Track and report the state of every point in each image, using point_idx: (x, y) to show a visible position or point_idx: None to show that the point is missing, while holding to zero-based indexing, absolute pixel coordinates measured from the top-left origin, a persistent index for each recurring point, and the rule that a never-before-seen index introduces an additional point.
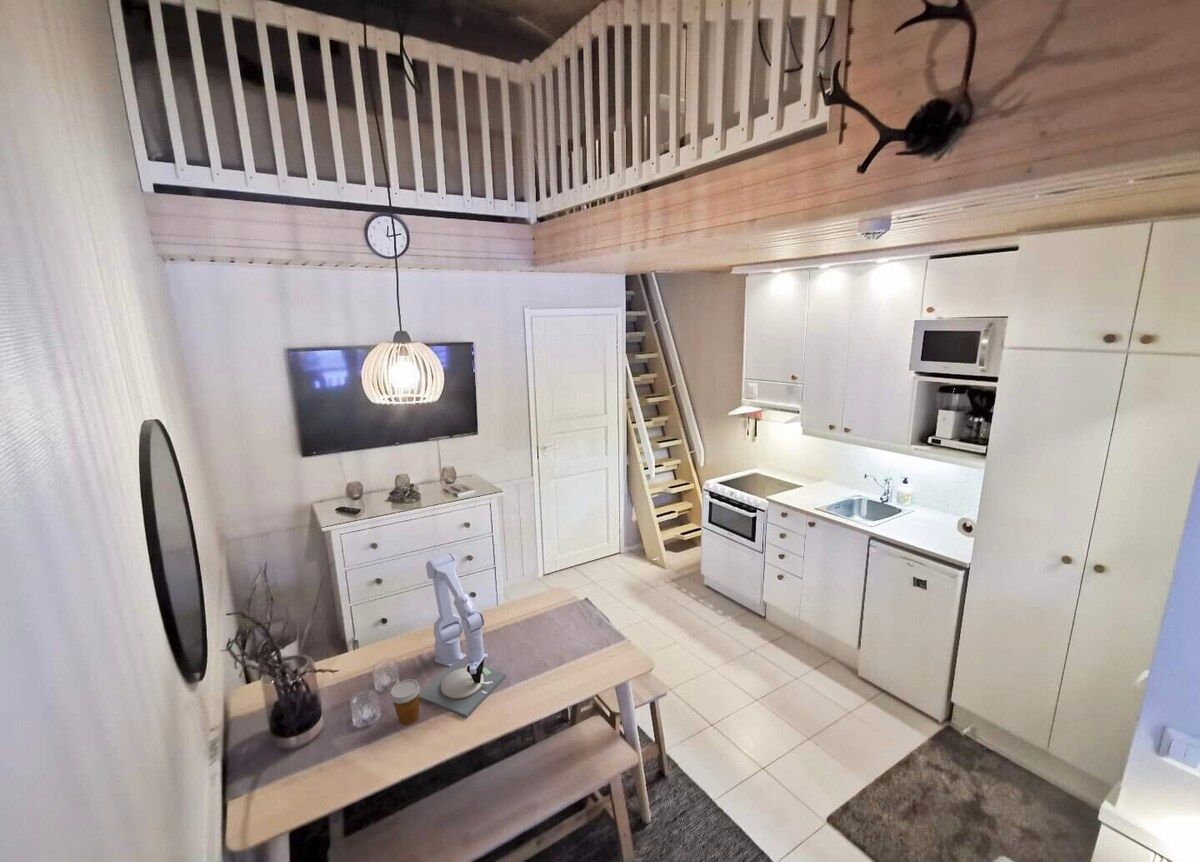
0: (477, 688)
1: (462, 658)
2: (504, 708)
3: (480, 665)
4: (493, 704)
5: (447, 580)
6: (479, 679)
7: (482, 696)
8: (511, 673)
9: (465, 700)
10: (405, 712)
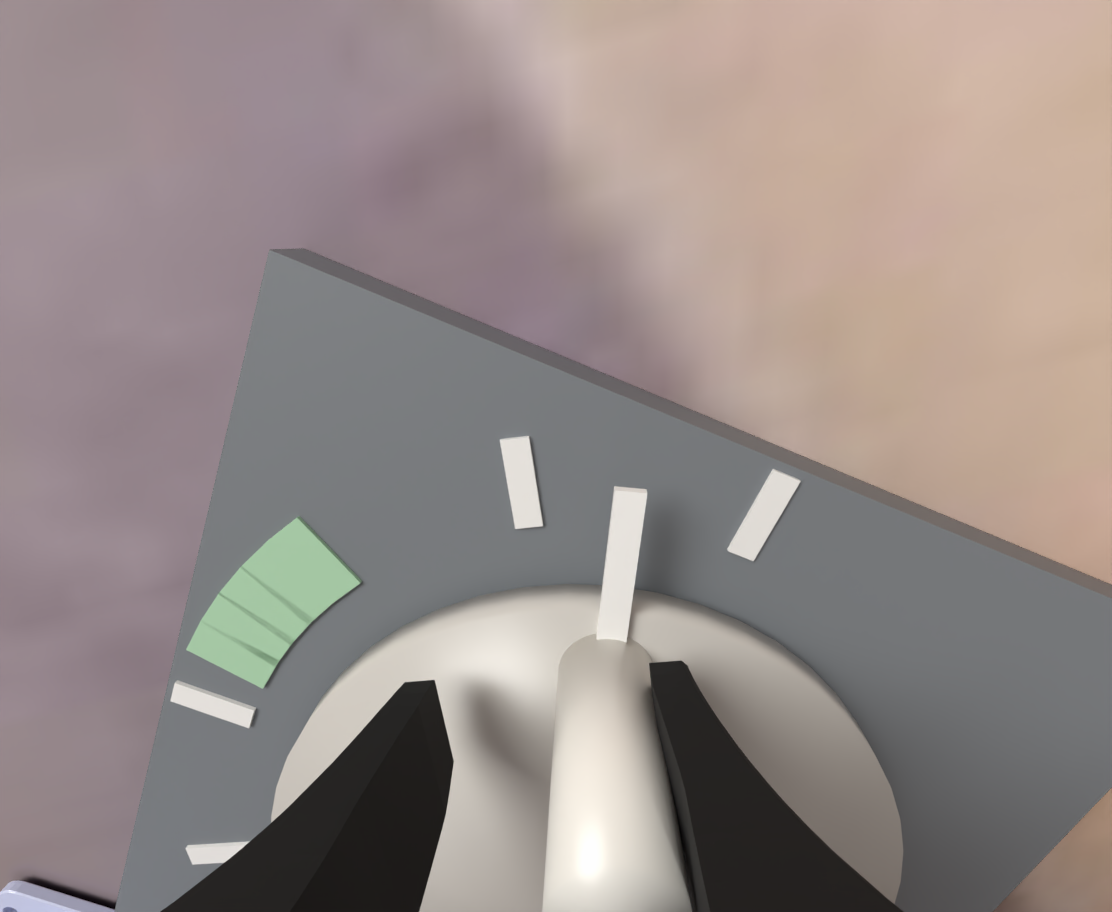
0: (752, 650)
1: (80, 904)
2: (1102, 58)
3: (369, 858)
4: (955, 300)
5: None
6: (708, 720)
7: (860, 519)
8: (189, 169)
9: (914, 730)
10: None
